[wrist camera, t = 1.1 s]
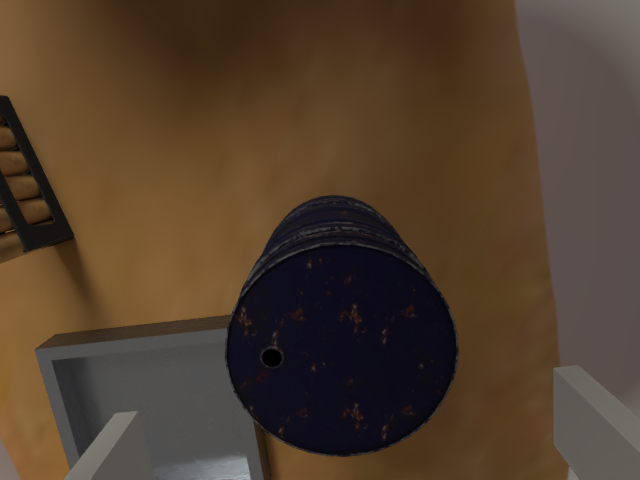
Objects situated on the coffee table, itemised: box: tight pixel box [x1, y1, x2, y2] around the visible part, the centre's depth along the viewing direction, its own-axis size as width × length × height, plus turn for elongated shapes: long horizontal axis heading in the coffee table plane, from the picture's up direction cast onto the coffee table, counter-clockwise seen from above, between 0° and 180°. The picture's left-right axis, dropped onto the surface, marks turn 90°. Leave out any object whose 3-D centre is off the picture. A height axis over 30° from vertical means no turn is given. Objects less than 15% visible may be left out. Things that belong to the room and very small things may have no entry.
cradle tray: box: [34, 315, 271, 480], centre depth 34 cm, size 15×15×2 cm
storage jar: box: [225, 195, 458, 457], centre depth 25 cm, size 10×10×15 cm
